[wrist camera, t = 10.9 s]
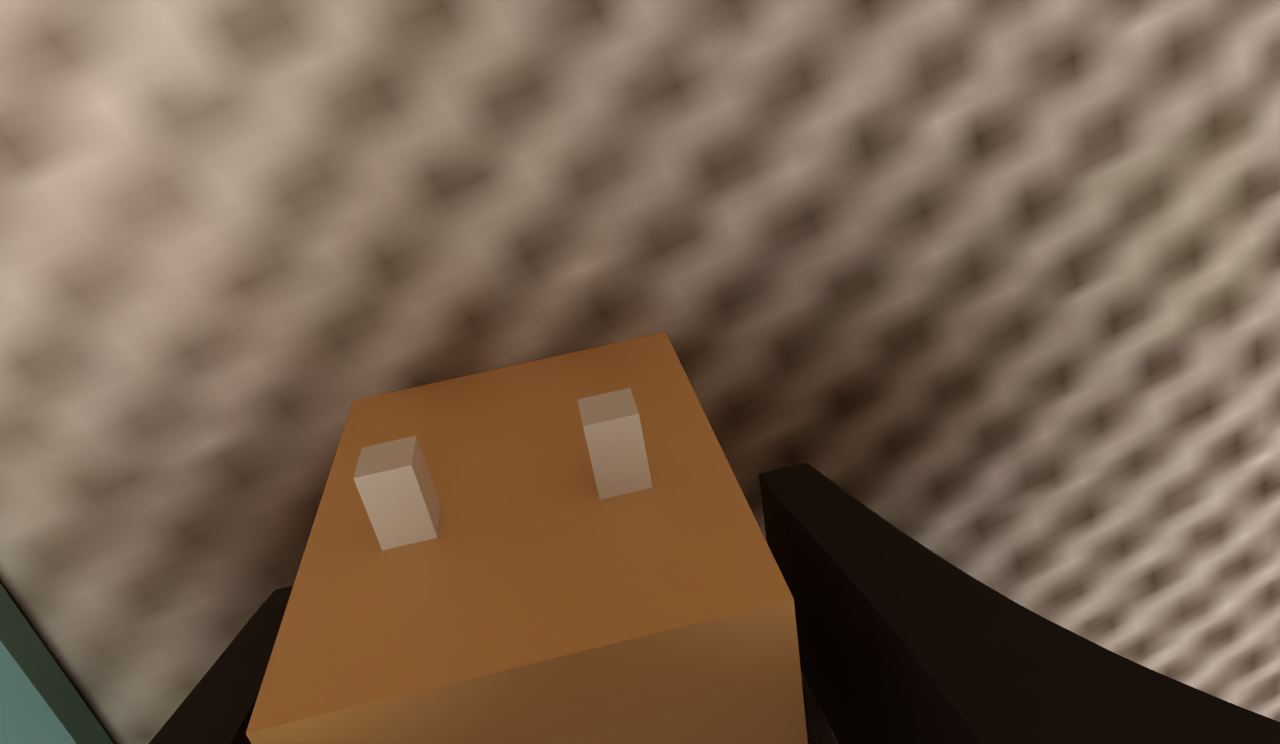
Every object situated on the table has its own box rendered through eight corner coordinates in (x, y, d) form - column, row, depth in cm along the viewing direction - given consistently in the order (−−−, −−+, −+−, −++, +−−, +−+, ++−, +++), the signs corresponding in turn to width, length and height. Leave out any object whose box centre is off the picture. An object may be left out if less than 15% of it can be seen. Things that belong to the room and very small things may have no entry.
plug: (704, 568, 12) (824, 907, 8) (441, 631, 12) (411, 1019, 8) (655, 273, 10) (784, 513, 6) (331, 342, 10) (198, 651, 5)
